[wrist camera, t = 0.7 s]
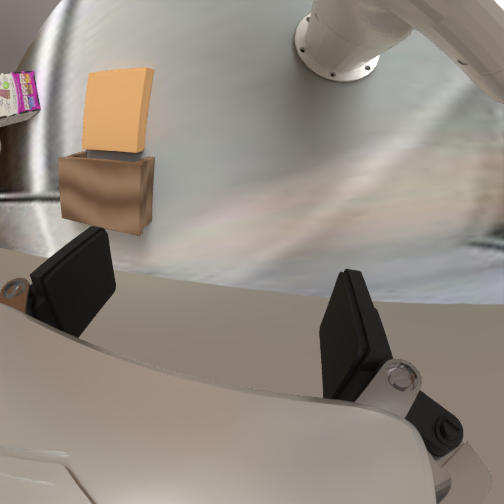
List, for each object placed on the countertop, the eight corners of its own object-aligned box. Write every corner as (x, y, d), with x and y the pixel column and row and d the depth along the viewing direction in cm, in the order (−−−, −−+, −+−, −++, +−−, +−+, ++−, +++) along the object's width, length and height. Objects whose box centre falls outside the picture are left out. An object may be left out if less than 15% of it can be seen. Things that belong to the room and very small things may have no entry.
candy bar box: (23, 82, 34) (-31, 90, 19) (34, 70, 32) (-22, 75, 18) (30, 121, 38) (-27, 136, 24) (41, 110, 37) (-18, 122, 23)
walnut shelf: (79, 151, 41) (58, 158, 36) (159, 157, 41) (140, 165, 35) (81, 206, 47) (62, 218, 41) (155, 221, 46) (139, 236, 41)
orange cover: (97, 73, 34) (89, 73, 31) (154, 69, 33) (146, 67, 31) (90, 146, 40) (82, 149, 38) (143, 150, 40) (136, 152, 38)
